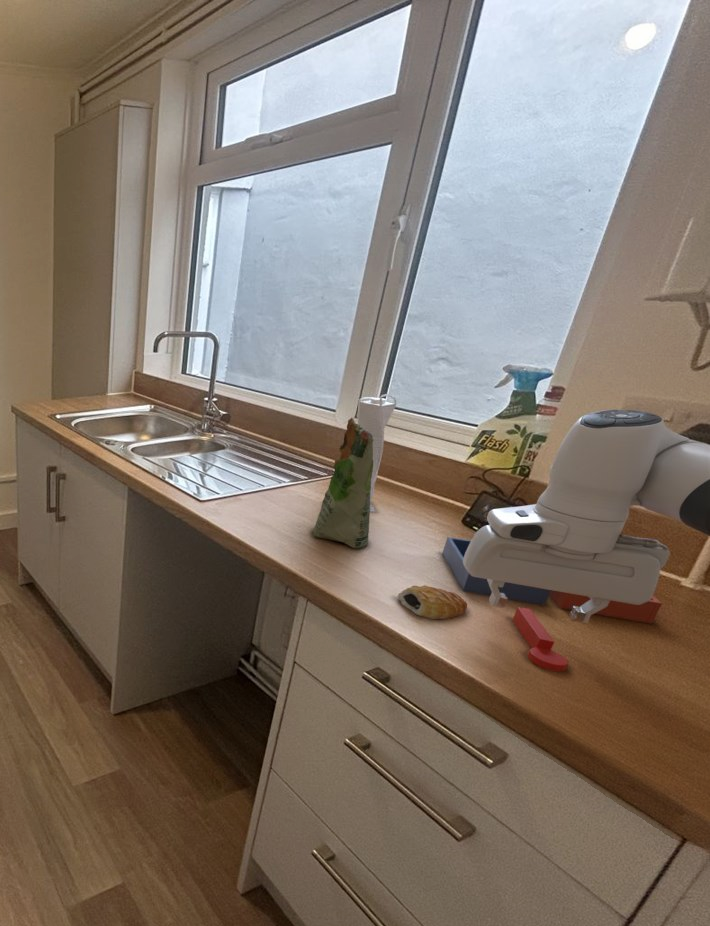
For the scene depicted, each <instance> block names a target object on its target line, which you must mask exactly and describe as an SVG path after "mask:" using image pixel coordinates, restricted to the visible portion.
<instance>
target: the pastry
mask: <svg viewBox="0 0 710 926" xmlns="http://www.w3.org/2000/svg"><path fill="white" fill-rule="evenodd" d="M397 598H398V601H399V602H400V604H402V605H403V606H404V607H405V608H407V609H408V610H410V611H411V612H412V613H414V614H415V615H417V616H418V617H423V618H426V619H431V620H438V619H441V620H444V619H450V618H451V619H452V618H454V617H458V616H461V615H463V614H464V613H466V610H467V608H468V602H467V601H466V600H465V599H464V598H462V596H461V595H459V594H457V593H455V592H453V591H447V590H445V589H441V588H437V587H433V586H429V585H425V584H424V585H421V586H419V585H411V586H410V587H406V589H404V590H402V591H401V592H399V593H398V595H397Z"/></svg>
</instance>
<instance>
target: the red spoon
mask: <svg viewBox="0 0 710 926" xmlns="http://www.w3.org/2000/svg"><path fill="white" fill-rule="evenodd" d="M512 622H513V623H514V625H515V626H516V628H517V630H518V631H519V632H520V634H521V635H522V636H523V638H524V639H525V641H526V642H527V644H528V645H529V647H530V649H529V651H528V653H527V659H529V661H530V662H532V663H533V664H535V665H537V666H538V667H540V668H543V669H546V670H549V671H554V672H564V671H566V669H567V667H568V665H569V660H568V659H567V658H566V657H565V656H564V655H562V654H561V653H559V652H557V651H554V650H552V648H553V646H554V644H555V641H554V639H553V638H552V637H551V635H550V634H549V632H548V631H547V630H546V628H545V627H544V625H542V623H541V622H540V620H539V619H538V618H537V617H536V615H535V614H534V612H533V611H532V610H531V608H525V607H519V606H517V607H516V610H515V612H514V615H513V618H512Z"/></svg>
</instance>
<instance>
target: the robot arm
mask: <svg viewBox="0 0 710 926" xmlns="http://www.w3.org/2000/svg"><path fill="white" fill-rule="evenodd" d="M548 477H549V480H548V483H547V486H546V488H545V490H544V491H543V492H542V493H541V494H540V496H539V497H538V499H537V501H536V503H534V504H528V505H520V506H509V507H501V508H493V509H490V510H489V511H488V513H487V516H486V520H487V522H488V524H485V525H484V526H482V527H480V528H479V529H478V530H476V532H475V534H474V535H473V537H472V539H471V542H470V544H469V546H468V548H467V550H466V553H465V555H464V558H463V564H464V567H465V568H466V570H467V571H468V572H469V574H470V575H471V576H473V577H478V578H484V579H487V581H488V583H489V586H490V589H491V591H492V593H491V596H490V595H489V599H488V602H489V604H490V606H491V607H496V608H502V609H503V608H505V607H506V604H507V603H508V601H509V599H508V598H507V597H506V595H505V594H504V593H500V592H499V589H498V587H501V588H502V587H503V586H504V583H505V582H507V583H513V584H519V585H525V586H530V587H536V588H542V589H548V590H553V591H559V592H565V593H571V594H577V595H582V596H588V597H589V598H590V599H591V600H589V601H588V602H586V603H585V604H583V605H582V606H580V607H578V606H572V608H571V609H570V610H571V611H569V613H568V618H569V619H571V621H572V622H576V623H581V624H587V623H589V620H590V618H591V616H592V615H595V614H594V613H596V612H598V611H600V610H602V609H604V608H605V607H607V606H608V604H609V602H610V600H611V601H617V602H623V603H628V604H634V605H641V604H643V603H645V602H648V601H649V600H650V599H651V598H652V596H654V593H655V591H656V588H657V585H658V582H659V578H660V573H661V569H662V568H664V566H666V564H667V562H668V560H669V558H670V555H671V552H670V549H669V547H668V546H667V545H665V544H664V543H661V541H660V540H658V539H654V538H649V537H647V538H646V537H644V538H642V537H637V536H632V535H628V534H622V531H623V529H624V526H625V524H626V522H627V520H628V518H629V515H630V508H631V507H633V506H636V507H637V506H639V507H642V508H644V509H645V510H647V511H650V512H653V513H656V514H659V515H660V516H664V517H665V518H666V517H667V518H668V519H672V520H674V521H676V522H680V523H683V524H684V525H686V526H687V527H689V528H691V529H693V530H695V531H698V532H701V533H702V534H704V535H706V536H708V537H710V444H708V443H706V442H702V441H700V440H699V441H698V440H695V439H690V438H689V437H687V436H684V435H681V434H679V433H677V432H676V431H673V430H671V428H669V427H668V426H666V425H665V421H664V419H663V418H662V417H661V416H660V415H657V414H655V413H652V412H648V411H643V410H634V409H603V410H597V411H593V412H590V413H586V414H585V415H582V416H581V417H580V418H578V419H577V420H576V422H575V423H574V424H573V425H572V426H571V427H570V429H569V430H568V432H567V433H566V435H565V436H564V438H563V440H562V442H561V444H560V446H559V448H558V450H557V452H556V454H555V457H554V459H553V461H552V463H551V466H550V469H549V473H548Z"/></svg>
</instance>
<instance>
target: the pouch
mask: <svg viewBox="0 0 710 926" xmlns="http://www.w3.org/2000/svg"><path fill="white" fill-rule="evenodd" d="M372 437H373V436H372V435H371V434H370V433H369V432H368V431H366V430H363V428H360V424H359V425H358V423H357V422H356V421H355V420H354V418H353V417H351V418H349V419H348V420H347V424H346V430H345V432H344V436H343V443H342V444H341V445H339V448H338V449H339V452H340V457H339V458H336V459H335V460H334V463H333V468H334V472H333V474H332V476H331V478H330V481H329V484H328V488H327V490H326V492H325V493H324V498H323V499H322V502H321V506H320V510H319V513H318V515H317V518H316V521H315V525H314V528H313V532H312V534H313V537H314V538H318V539H319V538H320V539H325V540H330V541H334V542H337V543H340V544H343V545H347V546H349V547H350V548H352V549H355V550H359V549H363V548H366V547H367V546H368V545H369V533H370V532H369V531H370V519H371V517H370V514H371V512H370V494H371V493H370V492H371V478H372V472H373V441H374V440H373V438H372Z"/></svg>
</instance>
